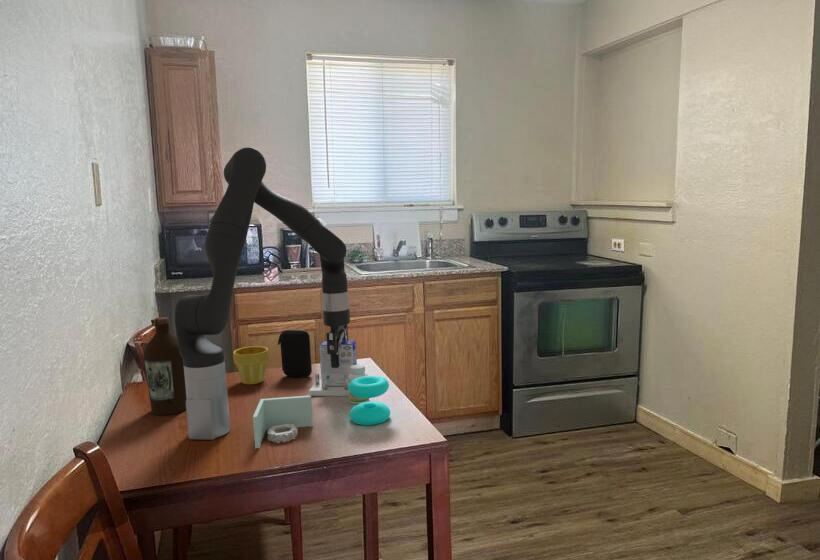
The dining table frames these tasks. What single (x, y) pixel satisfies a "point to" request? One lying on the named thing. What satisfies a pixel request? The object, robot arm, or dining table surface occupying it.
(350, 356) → the ink cartridge box
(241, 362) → the plant pot
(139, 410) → the dining table surface
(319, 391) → the pin tray
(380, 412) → the donuts
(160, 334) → the olive oil
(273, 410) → the right angle wall
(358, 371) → the supplement bottle
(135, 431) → the dining table surface
